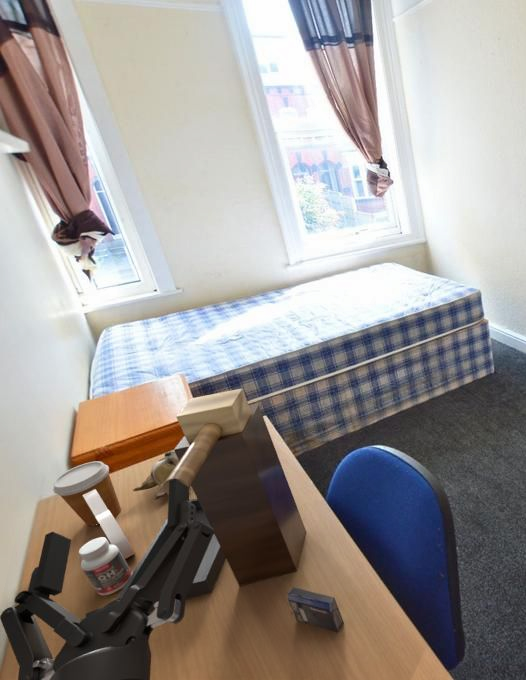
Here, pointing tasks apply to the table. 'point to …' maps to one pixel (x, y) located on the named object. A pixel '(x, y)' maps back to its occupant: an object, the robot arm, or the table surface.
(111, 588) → the pill bottle
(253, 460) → the stand
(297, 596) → the mini dv tape
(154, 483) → the ceramic sculpture
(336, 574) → the table surface
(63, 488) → the disposable coffee cup
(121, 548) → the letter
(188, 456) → the mallet
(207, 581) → the tray
